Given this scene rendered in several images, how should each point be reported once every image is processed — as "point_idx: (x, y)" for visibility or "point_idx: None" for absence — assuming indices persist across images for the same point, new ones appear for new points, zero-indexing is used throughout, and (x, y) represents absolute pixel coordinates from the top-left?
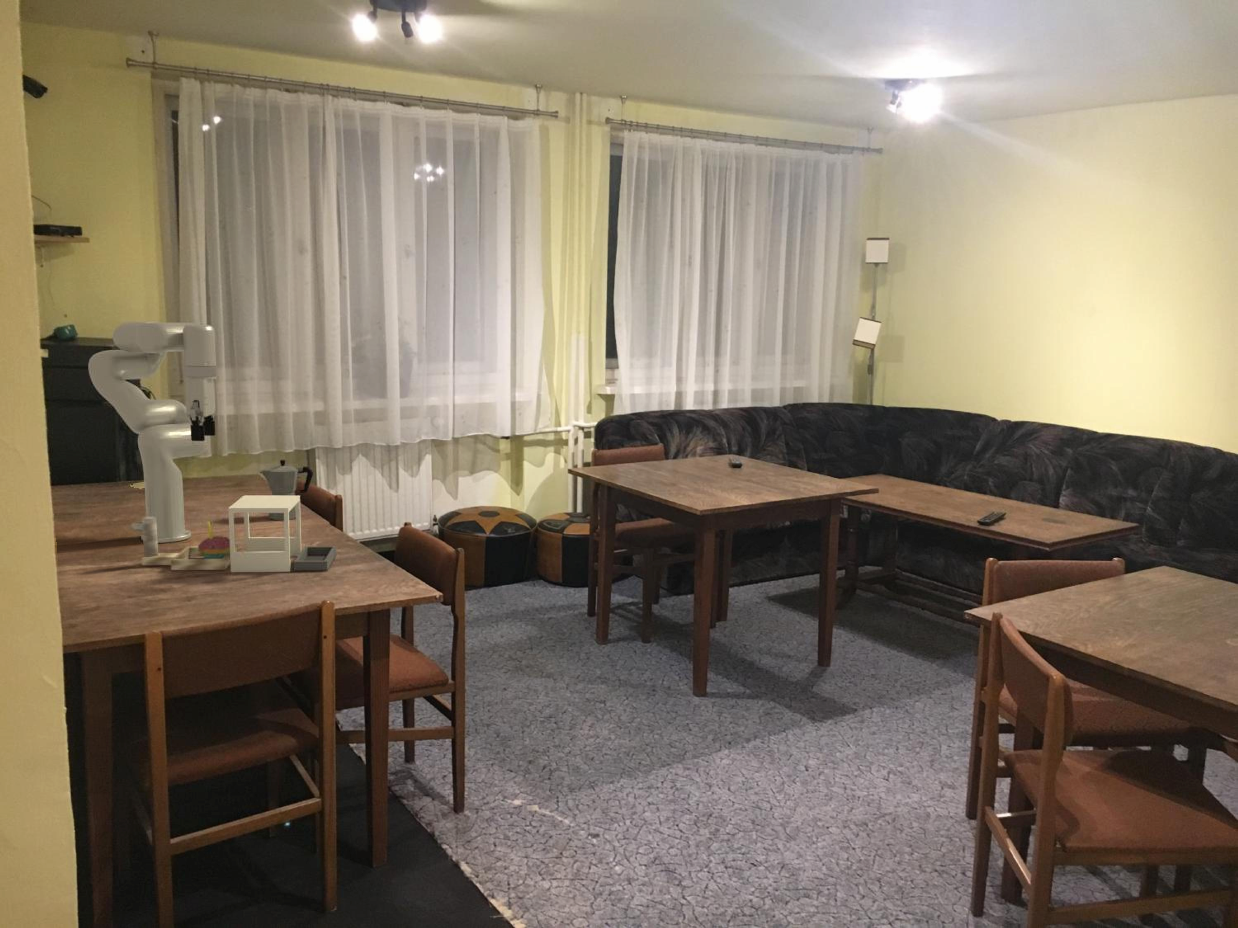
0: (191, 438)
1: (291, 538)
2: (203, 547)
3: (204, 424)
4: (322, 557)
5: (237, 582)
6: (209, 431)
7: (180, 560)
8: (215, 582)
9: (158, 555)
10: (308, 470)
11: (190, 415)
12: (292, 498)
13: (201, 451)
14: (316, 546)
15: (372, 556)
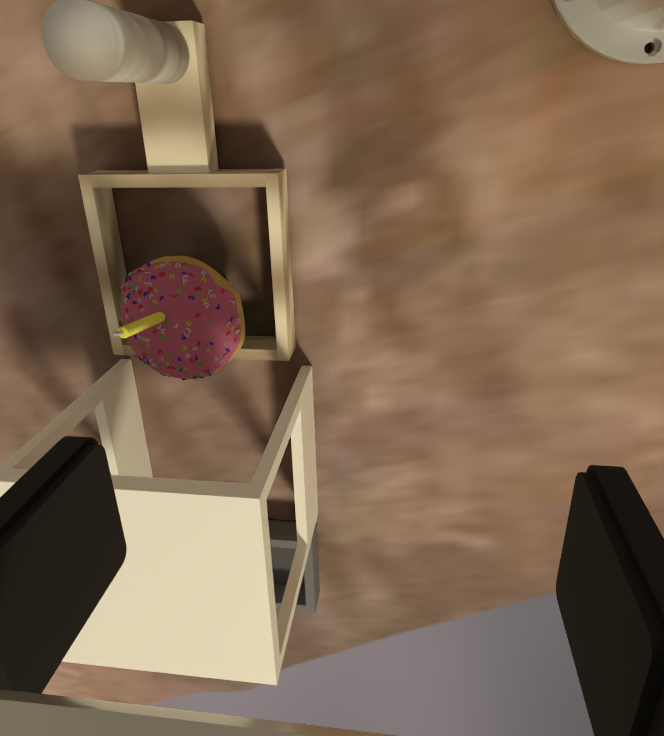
0: (55, 450)
1: (297, 529)
2: (122, 290)
3: (621, 625)
4: (282, 565)
5: (31, 394)
6: (576, 586)
7: (85, 210)
8: (18, 339)
9: (163, 88)
10: None
11: (22, 720)
12: (214, 665)
13: None
14: (310, 569)
15: (309, 660)
